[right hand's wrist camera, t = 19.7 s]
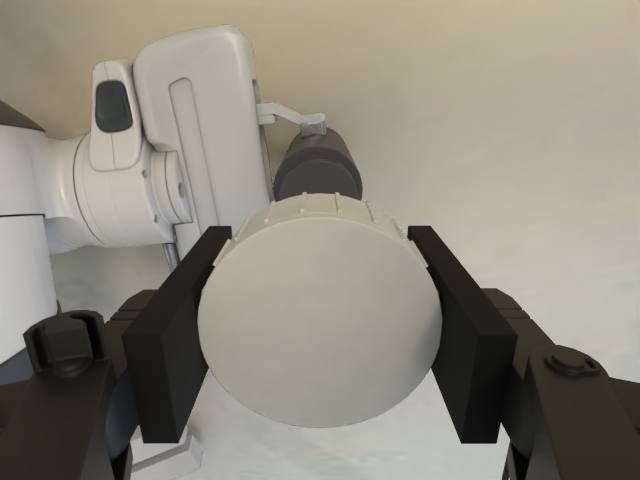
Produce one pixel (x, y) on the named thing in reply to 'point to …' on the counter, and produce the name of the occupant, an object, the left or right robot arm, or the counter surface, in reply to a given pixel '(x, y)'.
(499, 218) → the counter surface
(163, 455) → the toy
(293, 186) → the dark grey tall cylinder
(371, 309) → the lid
